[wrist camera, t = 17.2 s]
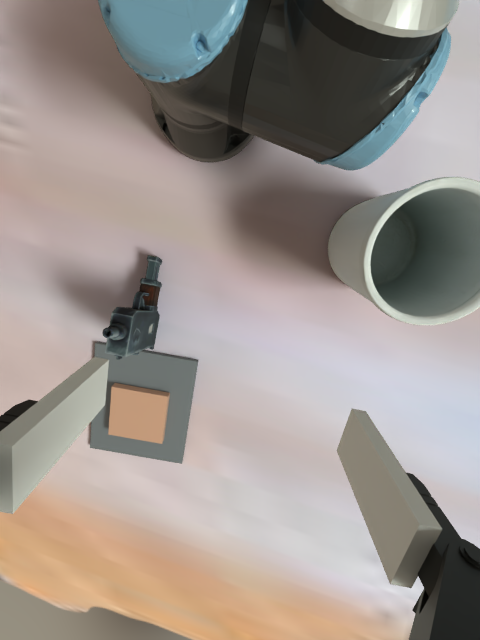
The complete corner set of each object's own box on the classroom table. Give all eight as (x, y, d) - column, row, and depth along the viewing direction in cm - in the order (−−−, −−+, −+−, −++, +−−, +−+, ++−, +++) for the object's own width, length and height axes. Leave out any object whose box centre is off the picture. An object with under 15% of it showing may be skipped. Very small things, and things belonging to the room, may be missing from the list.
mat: (97, 341, 53) (95, 343, 52) (198, 359, 53) (197, 361, 52) (92, 444, 59) (90, 447, 58) (182, 460, 59) (181, 463, 58)
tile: (111, 386, 52) (108, 434, 55) (168, 396, 52) (161, 443, 55) (115, 382, 54) (112, 429, 57) (170, 392, 54) (164, 438, 57)
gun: (136, 238, 34) (113, 368, 34) (169, 263, 51) (153, 350, 51) (112, 234, 34) (89, 363, 34) (153, 260, 51) (137, 347, 51)
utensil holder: (411, 295, 49) (496, 328, 32) (319, 293, 49) (355, 325, 32) (428, 198, 44) (537, 176, 28) (327, 197, 45) (374, 175, 28)
